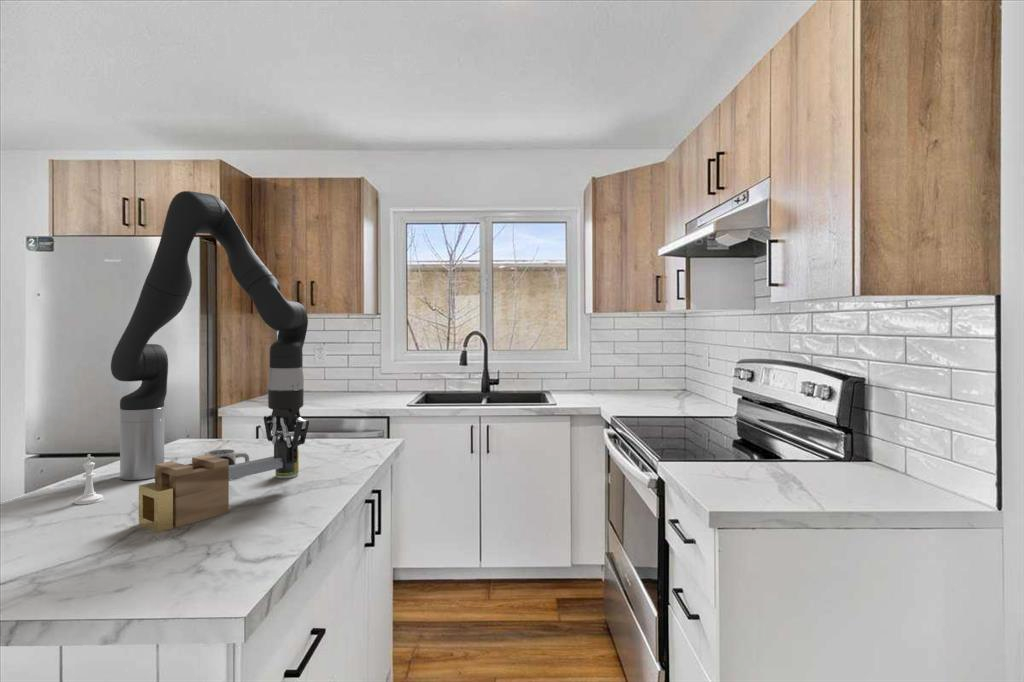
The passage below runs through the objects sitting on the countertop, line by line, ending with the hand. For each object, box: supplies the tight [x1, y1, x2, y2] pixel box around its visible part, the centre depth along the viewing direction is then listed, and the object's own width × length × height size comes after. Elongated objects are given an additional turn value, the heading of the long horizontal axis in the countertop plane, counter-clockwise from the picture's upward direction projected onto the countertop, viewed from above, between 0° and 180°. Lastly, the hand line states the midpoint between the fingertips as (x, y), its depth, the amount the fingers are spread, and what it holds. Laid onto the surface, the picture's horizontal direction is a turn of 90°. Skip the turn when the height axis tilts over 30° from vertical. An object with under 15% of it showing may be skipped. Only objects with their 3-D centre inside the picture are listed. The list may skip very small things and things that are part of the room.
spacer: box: [138, 481, 174, 533], centre depth 102 cm, size 7×2×7 cm, turn 58°
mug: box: [204, 448, 250, 481], centre depth 136 cm, size 10×7×7 cm
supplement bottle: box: [275, 436, 300, 479], centre depth 138 cm, size 5×5×10 cm
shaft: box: [229, 439, 295, 481], centre depth 116 cm, size 4×25×7 cm, turn 148°
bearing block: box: [154, 454, 230, 528], centre depth 107 cm, size 8×10×11 cm
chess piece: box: [74, 453, 105, 506], centre depth 116 cm, size 5×5×10 cm
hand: (285, 461), depth 125 cm, fingers closed on shaft, 4 cm apart
